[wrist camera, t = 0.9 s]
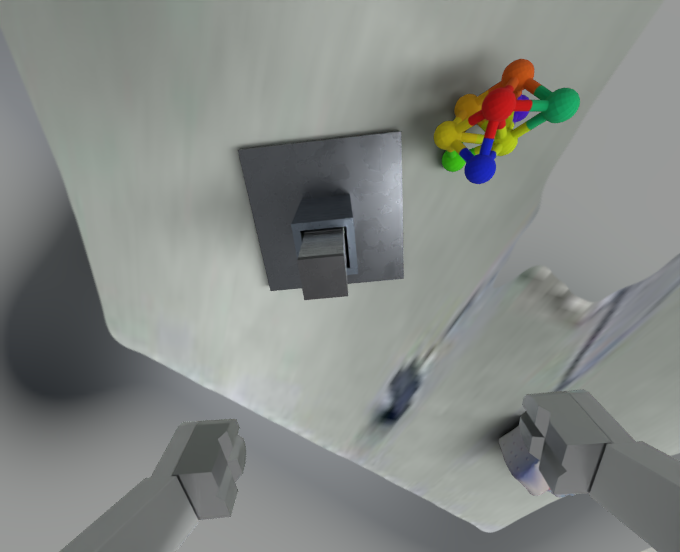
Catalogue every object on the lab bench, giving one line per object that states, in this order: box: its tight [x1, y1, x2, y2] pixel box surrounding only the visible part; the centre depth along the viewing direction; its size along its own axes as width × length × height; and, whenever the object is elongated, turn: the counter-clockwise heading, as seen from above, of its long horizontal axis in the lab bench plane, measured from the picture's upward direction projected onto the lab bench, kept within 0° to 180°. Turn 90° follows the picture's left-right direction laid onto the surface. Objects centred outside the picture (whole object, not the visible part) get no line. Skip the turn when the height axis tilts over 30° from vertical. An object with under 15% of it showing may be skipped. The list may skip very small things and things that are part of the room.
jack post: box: [297, 226, 348, 300], centre depth 36 cm, size 4×4×17 cm
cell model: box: [499, 425, 575, 497], centre depth 62 cm, size 13×11×20 cm
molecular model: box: [434, 59, 580, 184], centre depth 35 cm, size 12×7×12 cm, turn 130°
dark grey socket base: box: [238, 131, 404, 291], centre depth 40 cm, size 20×20×12 cm
